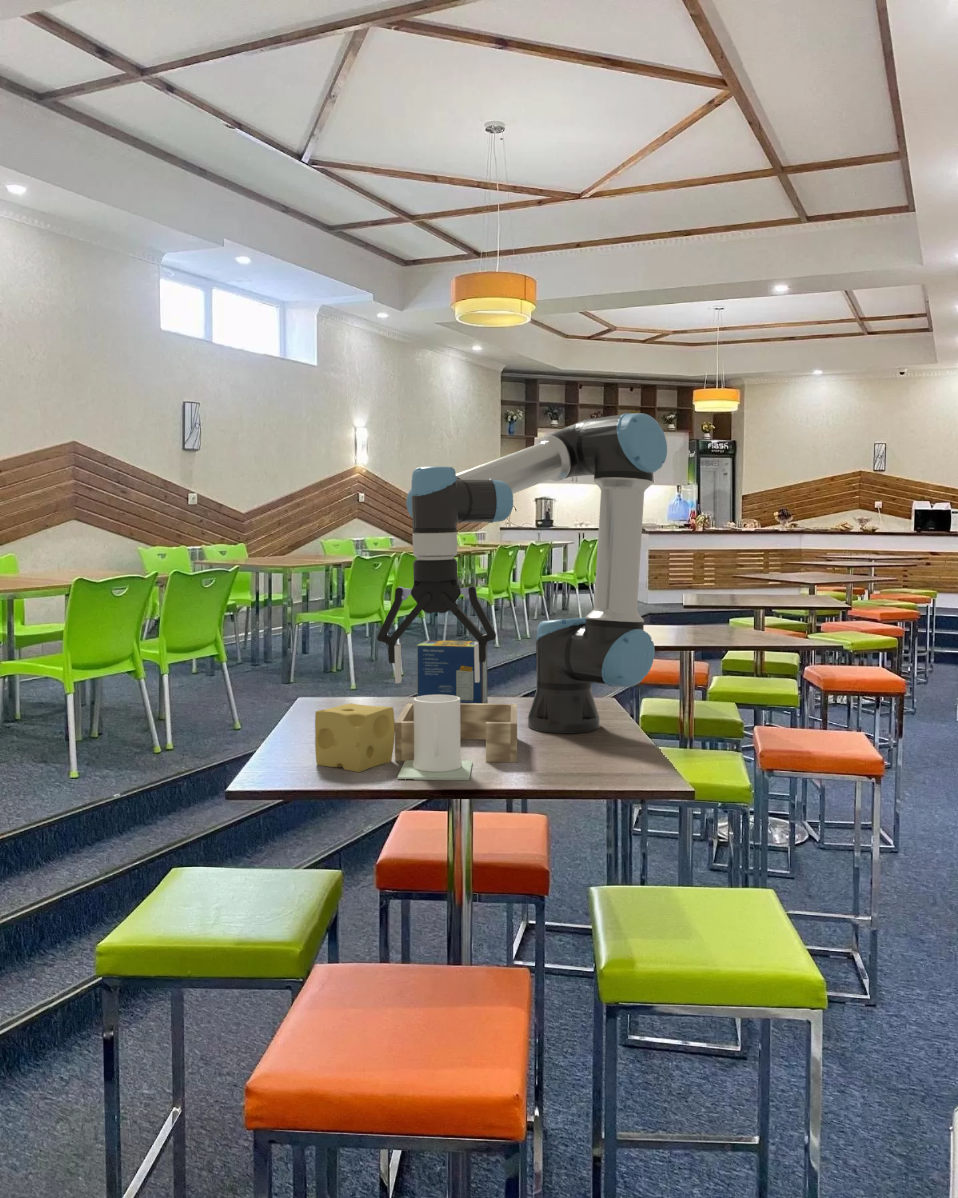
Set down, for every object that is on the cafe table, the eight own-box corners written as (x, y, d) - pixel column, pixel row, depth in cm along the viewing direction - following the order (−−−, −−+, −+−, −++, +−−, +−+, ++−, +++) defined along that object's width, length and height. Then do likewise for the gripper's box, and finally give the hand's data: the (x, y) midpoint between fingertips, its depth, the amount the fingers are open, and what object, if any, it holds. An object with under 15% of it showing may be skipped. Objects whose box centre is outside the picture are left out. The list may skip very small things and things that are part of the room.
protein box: (424, 703, 231) (424, 639, 230) (488, 705, 229) (488, 640, 228) (416, 711, 221) (415, 644, 220) (482, 713, 219) (482, 645, 217)
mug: (456, 777, 159) (456, 706, 158) (405, 776, 159) (405, 705, 159) (464, 761, 170) (464, 694, 170) (417, 760, 171) (416, 693, 170)
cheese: (359, 773, 164) (359, 715, 163) (311, 765, 169) (311, 709, 169) (395, 761, 172) (395, 706, 172) (349, 754, 178) (349, 701, 177)
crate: (516, 738, 191) (516, 703, 191) (517, 762, 171) (517, 723, 171) (407, 737, 192) (407, 703, 192) (395, 761, 172) (394, 722, 172)
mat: (472, 763, 171) (472, 760, 171) (469, 780, 159) (469, 777, 159) (405, 762, 171) (405, 760, 171) (397, 779, 159) (397, 777, 159)
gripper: (508, 556, 166) (510, 677, 167) (365, 558, 167) (369, 678, 168) (508, 557, 158) (510, 684, 160) (358, 560, 159) (362, 686, 161)
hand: (437, 681), depth 164 cm, fingers open, 13 cm apart
